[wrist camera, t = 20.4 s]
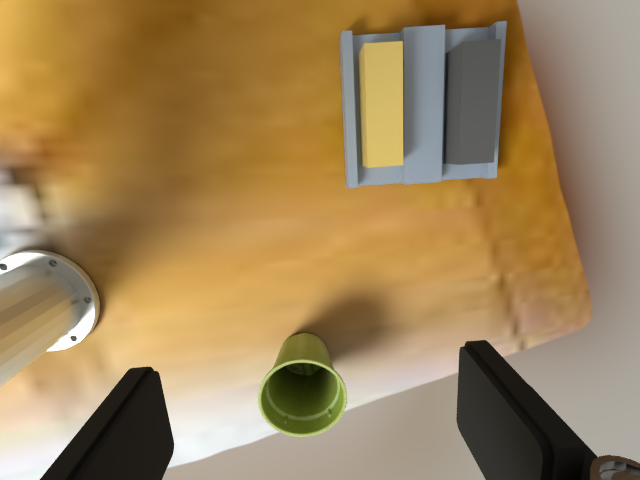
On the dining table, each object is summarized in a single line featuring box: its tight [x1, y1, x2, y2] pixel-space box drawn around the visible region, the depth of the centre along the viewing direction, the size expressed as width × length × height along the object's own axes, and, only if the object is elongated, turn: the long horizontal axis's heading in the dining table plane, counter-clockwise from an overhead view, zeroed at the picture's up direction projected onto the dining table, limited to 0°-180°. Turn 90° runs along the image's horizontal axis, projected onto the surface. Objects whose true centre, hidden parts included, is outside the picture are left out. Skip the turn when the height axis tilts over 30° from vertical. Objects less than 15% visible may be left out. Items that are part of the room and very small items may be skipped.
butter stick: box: [358, 41, 403, 168], centre depth 34 cm, size 11×4×4 cm, turn 4°
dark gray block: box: [444, 39, 501, 165], centre depth 35 cm, size 11×4×4 cm, turn 4°
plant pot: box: [258, 333, 347, 437], centre depth 40 cm, size 9×9×9 cm
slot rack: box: [339, 21, 507, 188], centre depth 36 cm, size 16×15×2 cm
